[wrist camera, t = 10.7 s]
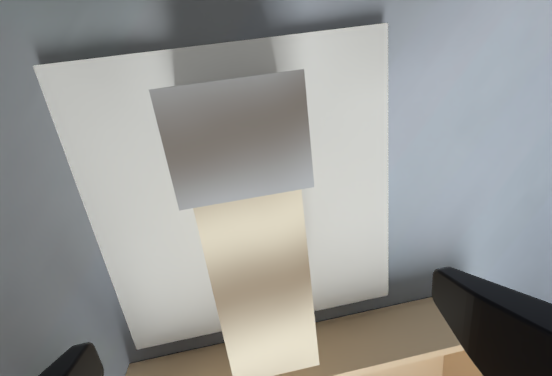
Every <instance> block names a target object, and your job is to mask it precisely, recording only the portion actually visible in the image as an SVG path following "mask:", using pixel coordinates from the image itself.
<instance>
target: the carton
mask: <svg viewBox="0 0 552 376" xmlns="http://www.w3.org/2000/svg"><path fill="white" fill-rule="evenodd" d="M315 325H316V335H317V345H318V354H319V364H320V365H317V366H313V367H309V368H304V369H300V370H296V371H292V372H287V373H283V374H279V375H275V376H483V375H482V373H481V372H480V371H479V370H478V368H477V367H476V366H475V364H474V363H473V362H472V360H471V359H470V358H469V356H468V355H467V353H466V352H465V350H464V349H463V347H462V346H461V344H460V343H459V341H458V340H457V338H456V336H455V335H454V333H453V332H452V330H451V328H450V327H449V325H448V324H447V322H446V321H445V319H444V317H443V316H442V314H441V313H440V311H439V309H438V308H437V306H436V305H435V303H434V301H433V298H432V297H429V298H425V299H420V300H416V301H411V302H407V303H402V304H398V305H393V306H389V307H384V308H380V309H375V310H370V311H366V312H361V313H357V314H352V315H348V316H343V317H339V318H334V319H330V320H325V321H321V322H316V323H315ZM126 376H232V371H231V367H230V363H229V359H228V354H227V350H226V346H225V343H221V344H216V345H212V346H207V347H203V348H198V349H194V350H189V351H185V352H180V353H176V354H171V355H167V356H162V357H158V358H153V359H149V360H144V361H139V362H135V363H130V364H129V366H128V370H127V373H126Z"/></svg>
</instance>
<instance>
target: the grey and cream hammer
mask: <svg viewBox="0 0 552 376" xmlns="http://www.w3.org/2000/svg"><path fill="white" fill-rule="evenodd" d="M149 93H150V97H151V101H152V105H153V109H154V113H155V116H156V120H157V124H158V128H159V132H160V136H161V140H162V144H163V148H164V152H165V156H166V160H167V164H168V168H169V172H170V176H171V180H172V184H173V188H174V192H175V196H176V200H177V203H178V207H179V211H180V210H185V209H191V208H193V210H194V214H195V219H196V223H197V227H198V231H199V236H200V240H201V244H202V248H203V253H204V257H205V261H206V265H207V269H208V274H209V278H210V282H211V286H212V291H213V295H214V299H215V303H216V308H217V312H218V316H219V320H220V325H221V329H222V333H223V337H224V342H225V346H226V350H227V354H228V359H229V363H230V367H231V371H232V376H275V375H279V374H283V373H287V372H292V371H296V370H300V369H304V368H309V367H313V366H317V365H320V364H319V354H318V345H317V335H316V325H315V316H314V306H313V296H312V286H311V277H310V267H309V257H308V248H307V238H306V228H305V219H304V209H303V199H302V190H301V189H306V188H312V187H314V176H313V165H312V154H311V142H310V131H309V119H308V108H307V97H306V85H305V74H304V69H300V70H292V71H284V72H276V73H268V74H261V75H253V76H246V77H238V78H231V79H223V80H216V81H208V82H201V83H193V84H186V85H178V86H171V87H164V88H157V89H150V90H149Z"/></svg>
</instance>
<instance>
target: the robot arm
mask: <svg viewBox="0 0 552 376" xmlns="http://www.w3.org/2000/svg"><path fill="white" fill-rule="evenodd" d="M432 298H433V301H434V303H435V305H436V306H437V308H438V309H439V311H440V313H441V314H442V316H443V317H444V319H445V321H446V322H447V324H448V325H449V327H450V328H451V330H452V332H453V333H454V335H455V336H456V338H457V340H458V341H459V343H460V344H461V346H462V347H463V349H464V350H465V352H466V353H467V355H468V356H469V358H470V359H471V360H472V362H473V363H474V364H475V366H476V367H477V368H478V370H479V371H480V372H481V373H482V375H483V376H552V304H551V303H548V302H545V301H543V300H540V299H537V298H534V297H531V296H529V295H526V294H523V293H520V292H518V291H515V290H512V289H509V288H507V287H504V286H501V285H498V284H496V283H493V282H490V281H487V280H485V279H482V278H479V277H476V276H474V275H471V274H468V273H465V272H462V271H460V270H457V269H454V268H451V267H444V268H440V269H436V270H434V272H433V280H432ZM103 375H104V369H103V365H102V363H101V360H100V358H99V356H98V353H97V351H96V349H95V346H94V345H93V344H92V343H89V342H88V343H83V344H78V345H74V346H72V347H71V348H69V349H68V350H67V351H66V352H65V353H64V354H63V355H61V356H60V357H59V358H58V359H57V360H56V361H55V362H53V363H52V364H51V365H50V366H49V367H48V368H47V369H45V370H44V371H43V372H42V373H41V374H40V375H39V376H103Z"/></svg>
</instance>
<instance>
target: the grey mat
mask: <svg viewBox="0 0 552 376" xmlns="http://www.w3.org/2000/svg"><path fill="white" fill-rule="evenodd" d="M33 68H34V70H35V73H36V76H37V79H38V81H39V84H40V87H41V89H42V92H43V95H44V98H45V100H46V103H47V106H48V109H49V111H50V114H51V117H52V120H53V122H54V125H55V128H56V131H57V133H58V136H59V139H60V141H61V144H62V147H63V150H64V152H65V155H66V158H67V161H68V163H69V166H70V169H71V172H72V174H73V177H74V180H75V182H76V185H77V188H78V191H79V193H80V196H81V199H82V202H83V204H84V207H85V210H86V213H87V215H88V218H89V221H90V224H91V226H92V229H93V232H94V234H95V237H96V240H97V243H98V245H99V248H100V251H101V254H102V256H103V259H104V262H105V265H106V267H107V270H108V273H109V276H110V278H111V281H112V284H113V286H114V289H115V292H116V295H117V297H118V300H119V303H120V306H121V308H122V311H123V314H124V317H125V319H126V322H127V325H128V327H129V330H130V333H131V336H132V338H133V341H134V344H135V347H136V349H137V350H138V349H143V348H148V347H152V346H157V345H162V344H166V343H171V342H175V341H180V340H185V339H189V338H194V337H198V336H203V335H208V334H212V333H217V332H221V331H222V329H221V325H220V320H219V316H218V312H217V308H216V303H215V299H214V295H213V291H212V286H211V282H210V278H209V274H208V269H207V265H206V261H205V257H204V253H203V248H202V244H201V240H200V236H199V231H198V227H197V223H196V219H195V214H194V210H193V208H191V209H185V210H180V211H179V207H178V203H177V200H176V196H175V192H174V188H173V184H172V180H171V176H170V172H169V168H168V164H167V160H166V156H165V152H164V148H163V144H162V140H161V136H160V132H159V128H158V124H157V120H156V116H155V113H154V109H153V105H152V101H151V97H150V93H149V90H150V89H157V88H164V87H171V86H178V85H186V84H193V83H201V82H208V81H216V80H223V79H231V78H238V77H246V76H253V75H261V74H268V73H276V72H284V71H292V70H300V69H304V74H305V85H306V97H307V108H308V119H309V131H310V142H311V154H312V165H313V176H314V187H312V188H306V189H301V190H302V199H303V209H304V219H305V228H306V238H307V248H308V257H309V267H310V277H311V286H312V296H313V306H314V311H318V310H323V309H328V308H332V307H337V306H341V305H346V304H351V303H355V302H360V301H364V300H369V299H374V298H378V297H383V296H388V23H381V24H373V25H365V26H357V27H348V28H340V29H332V30H323V31H315V32H307V33H299V34H290V35H282V36H274V37H265V38H257V39H249V40H241V41H232V42H224V43H216V44H208V45H199V46H191V47H183V48H174V49H166V50H158V51H150V52H141V53H133V54H125V55H116V56H108V57H100V58H92V59H83V60H75V61H67V62H59V63H50V64H42V65H34V66H33Z"/></svg>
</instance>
